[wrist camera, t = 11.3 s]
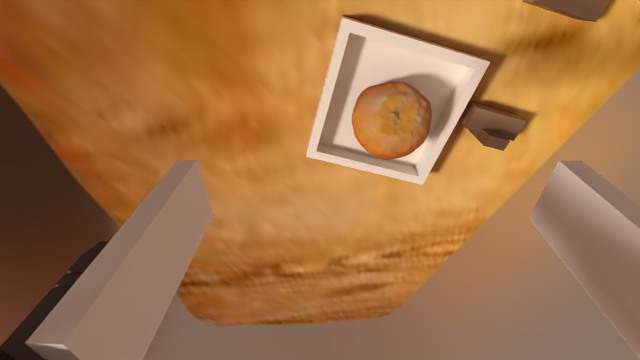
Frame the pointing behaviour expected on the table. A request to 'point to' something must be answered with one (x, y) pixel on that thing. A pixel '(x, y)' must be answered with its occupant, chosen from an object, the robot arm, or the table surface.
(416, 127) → the fruit
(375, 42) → the dish
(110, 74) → the table surface
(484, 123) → the block
